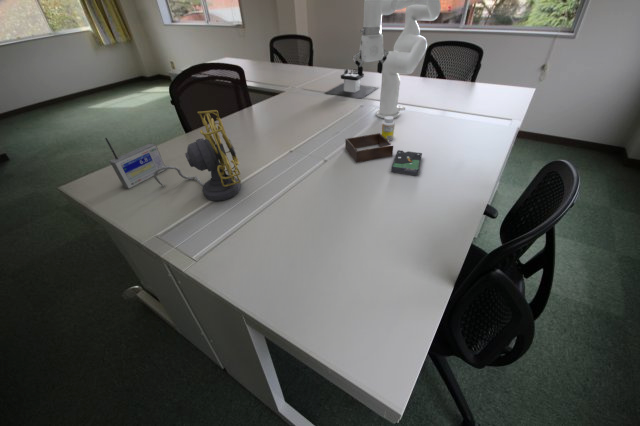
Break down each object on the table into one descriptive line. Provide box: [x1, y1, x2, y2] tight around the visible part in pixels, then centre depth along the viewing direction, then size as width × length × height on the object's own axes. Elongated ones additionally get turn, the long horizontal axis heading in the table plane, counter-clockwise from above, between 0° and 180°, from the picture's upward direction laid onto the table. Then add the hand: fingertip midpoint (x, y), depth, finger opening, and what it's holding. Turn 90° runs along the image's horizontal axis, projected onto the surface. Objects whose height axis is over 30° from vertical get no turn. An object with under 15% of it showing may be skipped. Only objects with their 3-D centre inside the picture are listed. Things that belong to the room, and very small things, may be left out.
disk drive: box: [390, 149, 423, 176], centre depth 119 cm, size 10×3×15 cm
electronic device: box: [105, 137, 167, 190], centre depth 116 cm, size 17×7×20 cm, turn 148°
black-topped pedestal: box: [325, 68, 379, 100], centre depth 198 cm, size 28×26×13 cm
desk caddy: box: [344, 132, 394, 164], centre depth 129 cm, size 17×14×5 cm
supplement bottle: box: [381, 116, 396, 142], centre depth 137 cm, size 6×6×10 cm
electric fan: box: [153, 109, 242, 202], centre depth 101 cm, size 26×32×30 cm
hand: (369, 74), depth 136 cm, fingers open, 9 cm apart
